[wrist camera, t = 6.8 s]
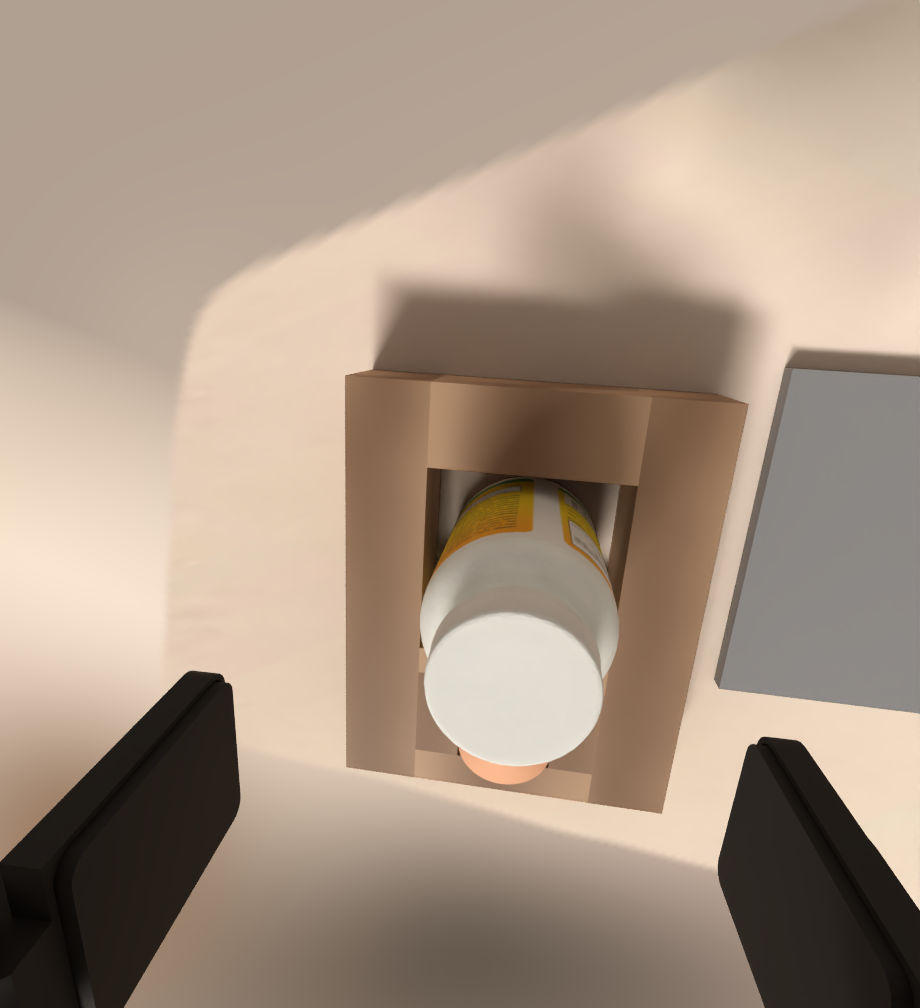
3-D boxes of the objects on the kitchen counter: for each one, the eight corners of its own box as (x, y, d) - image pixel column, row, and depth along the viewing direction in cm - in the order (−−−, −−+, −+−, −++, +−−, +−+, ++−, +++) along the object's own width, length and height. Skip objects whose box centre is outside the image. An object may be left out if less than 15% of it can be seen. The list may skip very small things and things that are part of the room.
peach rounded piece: (552, 649, 22) (556, 713, 18) (544, 715, 23) (546, 790, 19) (473, 639, 23) (460, 701, 19) (468, 706, 24) (455, 777, 20)
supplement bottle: (616, 499, 20) (682, 632, 11) (566, 621, 22) (588, 823, 13) (476, 454, 21) (430, 549, 11) (437, 579, 22) (369, 748, 13)
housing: (716, 393, 19) (748, 404, 16) (646, 755, 23) (661, 813, 20) (371, 369, 20) (345, 375, 17) (368, 717, 25) (346, 767, 22)
